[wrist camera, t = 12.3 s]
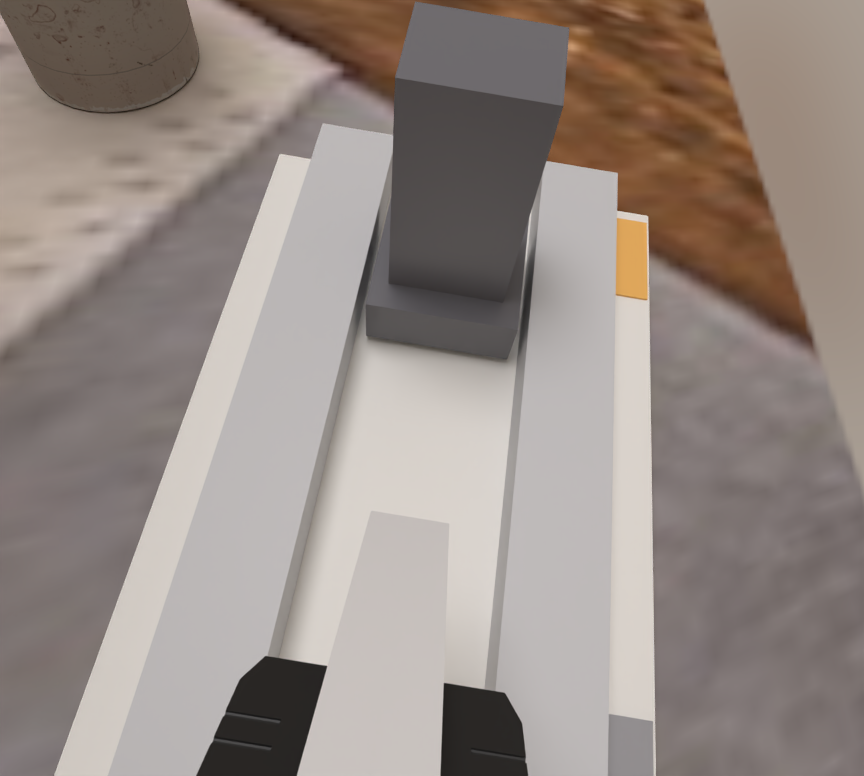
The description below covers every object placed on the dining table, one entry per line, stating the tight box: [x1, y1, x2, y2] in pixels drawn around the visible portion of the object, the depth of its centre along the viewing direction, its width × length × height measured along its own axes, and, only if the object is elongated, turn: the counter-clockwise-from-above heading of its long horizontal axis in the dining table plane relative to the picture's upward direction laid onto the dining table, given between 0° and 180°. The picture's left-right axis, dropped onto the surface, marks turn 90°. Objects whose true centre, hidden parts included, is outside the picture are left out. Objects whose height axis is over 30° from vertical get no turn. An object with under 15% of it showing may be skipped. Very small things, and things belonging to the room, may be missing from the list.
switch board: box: [54, 123, 656, 776], centre depth 22 cm, size 24×16×4 cm, turn 172°
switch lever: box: [365, 2, 569, 359], centre depth 20 cm, size 5×5×10 cm
